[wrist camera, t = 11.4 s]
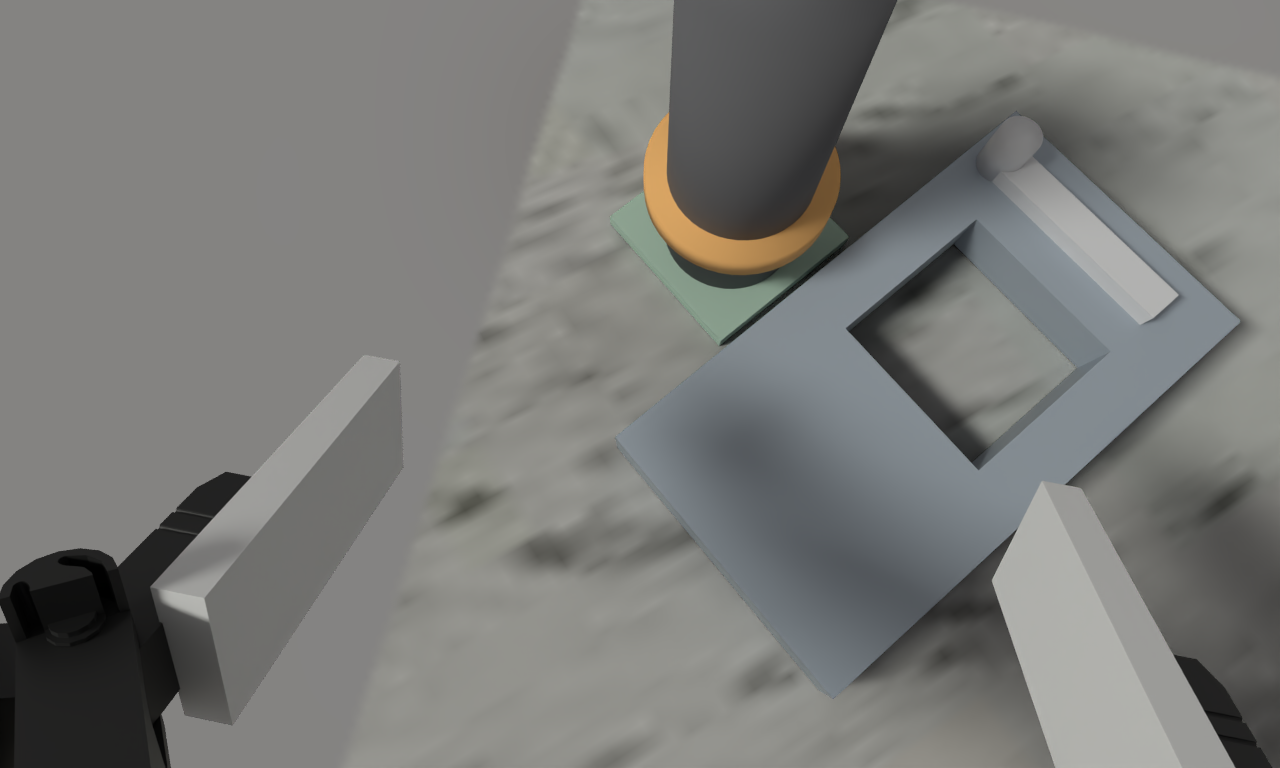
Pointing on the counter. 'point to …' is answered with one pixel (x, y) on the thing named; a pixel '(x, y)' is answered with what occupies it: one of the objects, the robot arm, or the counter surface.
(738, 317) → the pad
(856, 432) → the square cutout plate
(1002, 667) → the counter surface
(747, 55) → the plug
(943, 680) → the counter surface
